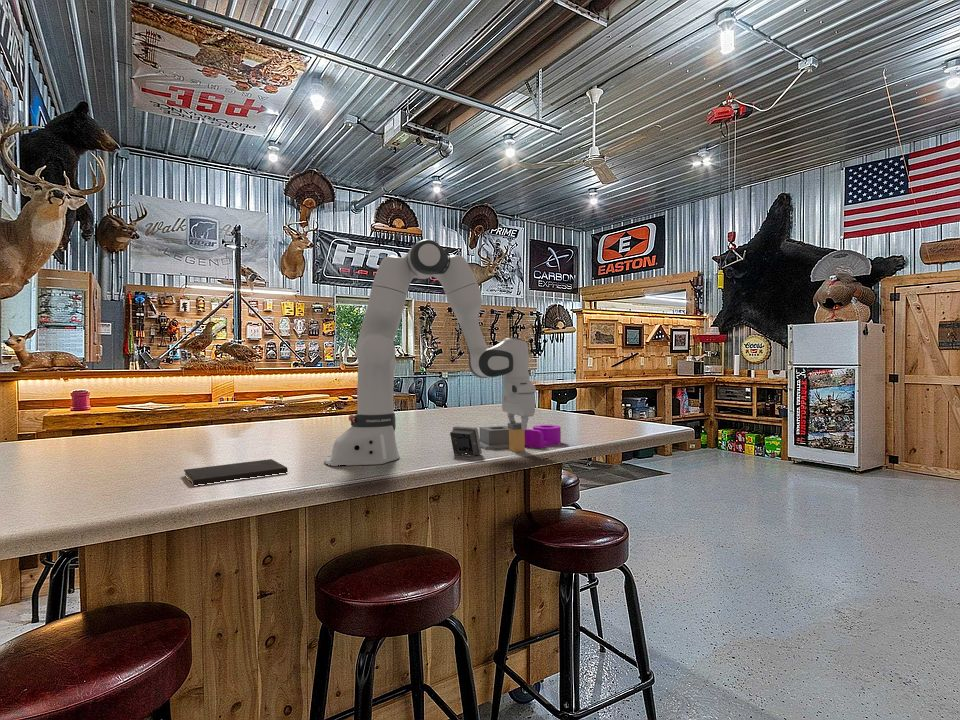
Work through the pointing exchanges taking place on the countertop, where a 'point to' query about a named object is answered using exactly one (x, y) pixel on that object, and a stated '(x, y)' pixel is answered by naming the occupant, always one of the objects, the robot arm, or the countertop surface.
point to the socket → (494, 437)
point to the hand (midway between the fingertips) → (517, 427)
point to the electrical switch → (465, 440)
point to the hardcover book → (234, 471)
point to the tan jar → (516, 437)
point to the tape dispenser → (542, 436)
